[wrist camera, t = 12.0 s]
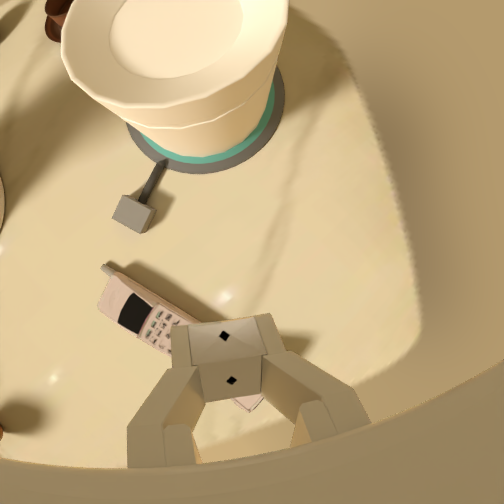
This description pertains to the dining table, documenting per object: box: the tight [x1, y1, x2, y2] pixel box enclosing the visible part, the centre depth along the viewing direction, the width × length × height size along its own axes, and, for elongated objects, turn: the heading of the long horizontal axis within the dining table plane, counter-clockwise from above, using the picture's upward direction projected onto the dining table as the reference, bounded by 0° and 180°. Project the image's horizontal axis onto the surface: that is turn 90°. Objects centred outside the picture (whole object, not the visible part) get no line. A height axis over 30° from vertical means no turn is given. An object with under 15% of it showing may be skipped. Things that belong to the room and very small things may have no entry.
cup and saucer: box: [45, 0, 74, 43], centre depth 30 cm, size 12×12×6 cm
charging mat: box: [112, 65, 284, 234], centre depth 35 cm, size 20×28×2 cm
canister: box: [61, 0, 289, 157], centre depth 26 cm, size 16×16×20 cm
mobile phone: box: [97, 264, 264, 413], centre depth 37 cm, size 6×6×25 cm
